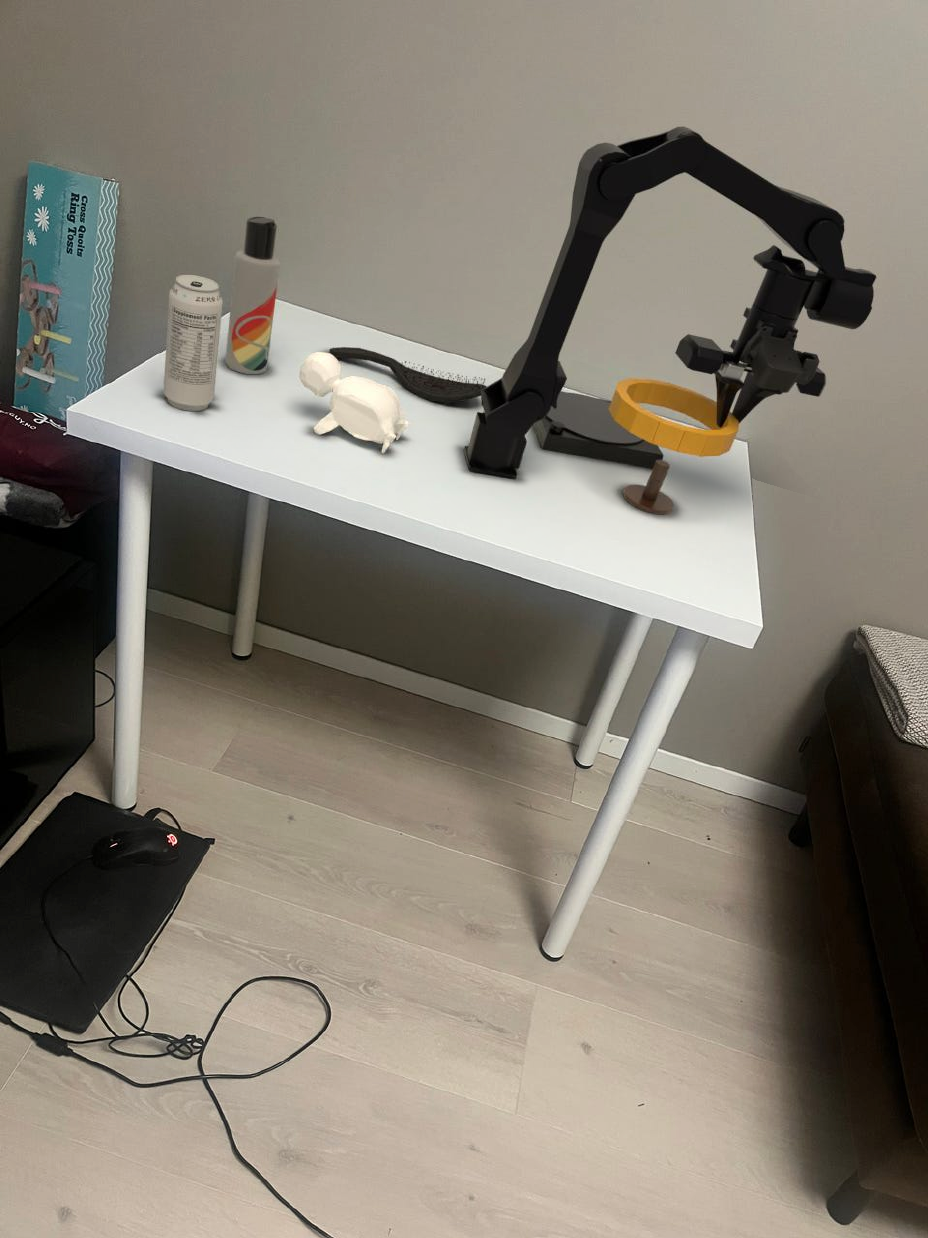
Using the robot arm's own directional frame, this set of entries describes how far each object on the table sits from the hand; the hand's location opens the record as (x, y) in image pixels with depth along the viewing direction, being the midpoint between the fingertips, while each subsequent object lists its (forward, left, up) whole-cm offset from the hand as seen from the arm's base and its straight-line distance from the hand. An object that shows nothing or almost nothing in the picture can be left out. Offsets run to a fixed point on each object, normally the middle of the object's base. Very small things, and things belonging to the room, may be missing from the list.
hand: (724, 427), depth 120 cm
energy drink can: (-68, +4, -12) cm, 69 cm away
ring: (-8, 0, -1) cm, 8 cm away
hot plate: (-11, +18, -12) cm, 24 cm away
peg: (-7, -2, -12) cm, 14 cm away
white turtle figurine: (-48, +4, -12) cm, 50 cm away
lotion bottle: (-62, +19, -12) cm, 66 cm away
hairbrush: (-39, +25, -12) cm, 48 cm away
